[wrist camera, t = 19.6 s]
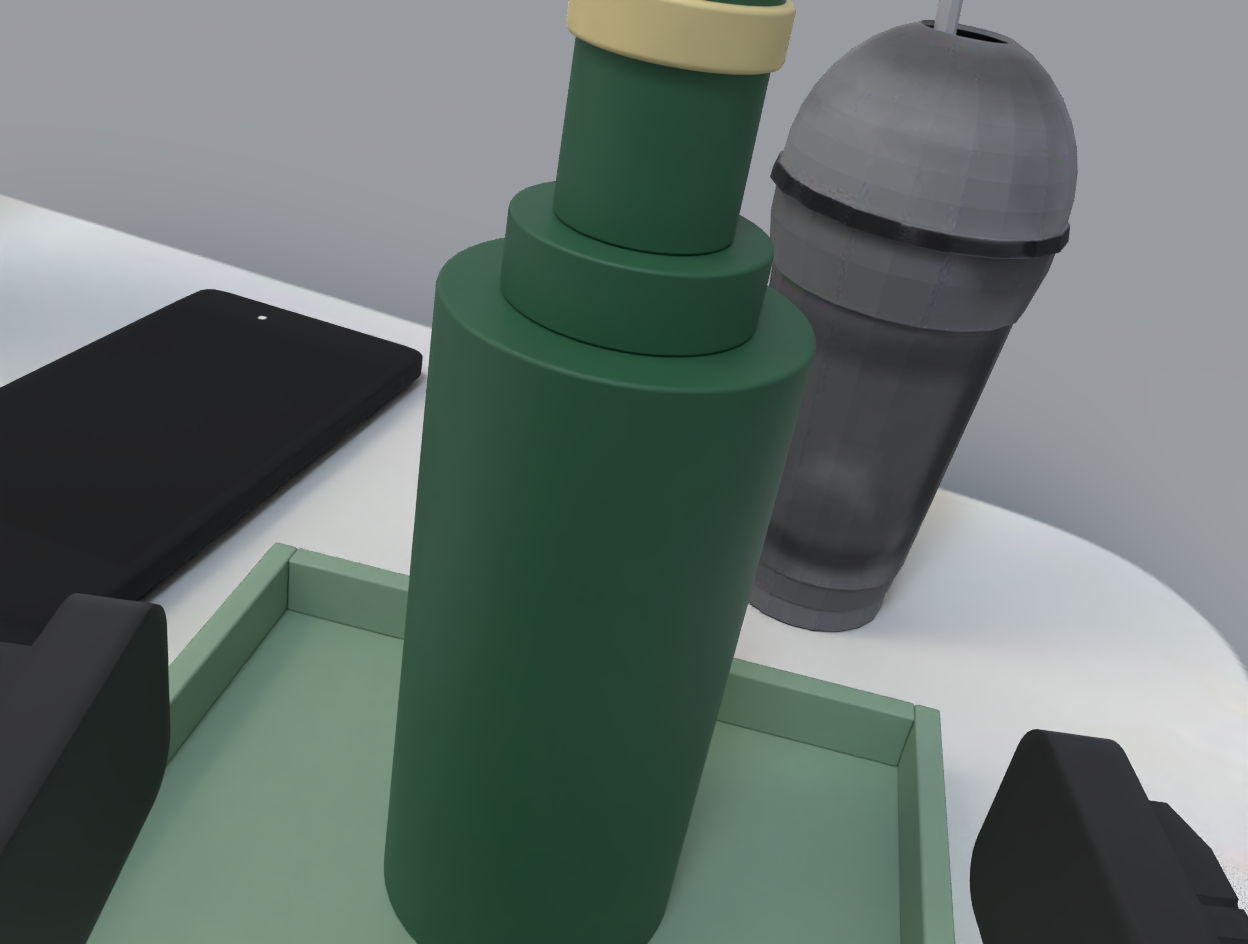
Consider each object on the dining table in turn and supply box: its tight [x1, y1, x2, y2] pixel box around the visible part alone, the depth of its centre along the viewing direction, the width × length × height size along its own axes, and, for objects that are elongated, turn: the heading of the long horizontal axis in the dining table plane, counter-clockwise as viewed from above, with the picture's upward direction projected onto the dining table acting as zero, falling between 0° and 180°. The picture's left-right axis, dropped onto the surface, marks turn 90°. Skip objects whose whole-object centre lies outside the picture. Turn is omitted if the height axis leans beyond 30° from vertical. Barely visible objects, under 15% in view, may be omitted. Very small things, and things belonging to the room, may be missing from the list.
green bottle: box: [384, 0, 816, 944], centre depth 19 cm, size 6×6×17 cm
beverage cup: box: [748, 0, 1077, 631], centre depth 29 cm, size 7×7×20 cm
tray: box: [86, 543, 955, 944], centre depth 23 cm, size 16×12×2 cm
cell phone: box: [0, 289, 423, 646], centre depth 35 cm, size 9×18×1 cm, turn 161°
